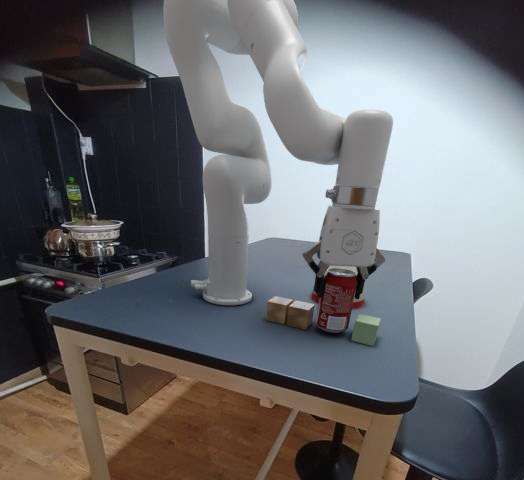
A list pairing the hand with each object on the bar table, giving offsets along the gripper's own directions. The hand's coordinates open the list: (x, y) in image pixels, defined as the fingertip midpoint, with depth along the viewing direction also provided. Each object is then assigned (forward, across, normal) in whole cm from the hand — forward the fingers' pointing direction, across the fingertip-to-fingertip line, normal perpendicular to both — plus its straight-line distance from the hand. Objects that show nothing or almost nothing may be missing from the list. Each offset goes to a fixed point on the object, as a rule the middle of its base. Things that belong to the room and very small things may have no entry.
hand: (337, 295), depth 64 cm
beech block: (+8, -6, +4) cm, 11 cm away
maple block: (+8, -10, +6) cm, 14 cm away
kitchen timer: (+8, +8, +21) cm, 24 cm away
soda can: (+7, 0, 0) cm, 7 cm away
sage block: (+8, +6, -4) cm, 11 cm away
